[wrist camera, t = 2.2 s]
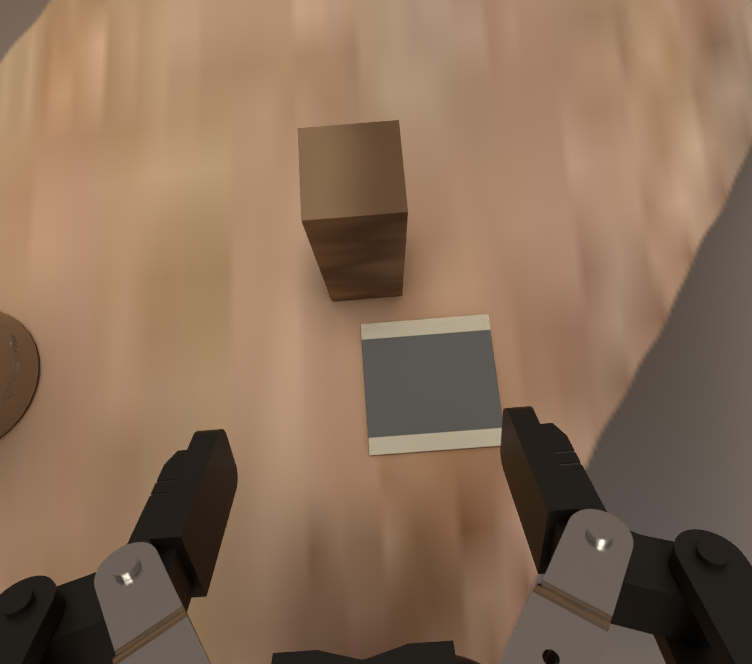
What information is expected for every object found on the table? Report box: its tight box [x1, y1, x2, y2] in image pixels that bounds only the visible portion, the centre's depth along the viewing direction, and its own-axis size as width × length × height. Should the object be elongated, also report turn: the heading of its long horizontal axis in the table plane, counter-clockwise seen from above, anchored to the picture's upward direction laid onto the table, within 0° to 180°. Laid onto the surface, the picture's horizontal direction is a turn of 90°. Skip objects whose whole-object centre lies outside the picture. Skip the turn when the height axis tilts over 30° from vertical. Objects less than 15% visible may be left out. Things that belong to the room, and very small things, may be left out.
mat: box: [361, 314, 502, 455], centre depth 30 cm, size 8×8×1 cm
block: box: [298, 120, 408, 301], centre depth 26 cm, size 4×4×11 cm
